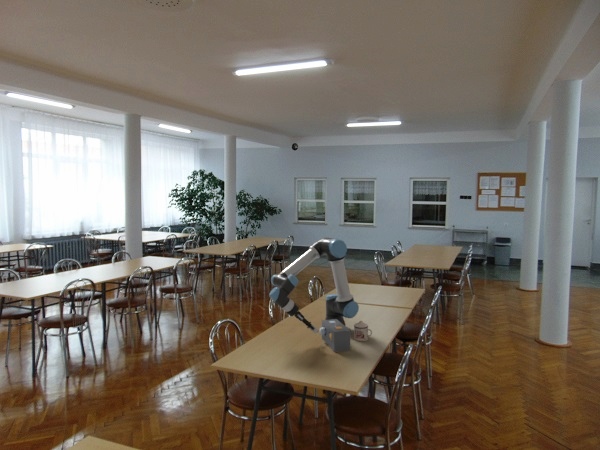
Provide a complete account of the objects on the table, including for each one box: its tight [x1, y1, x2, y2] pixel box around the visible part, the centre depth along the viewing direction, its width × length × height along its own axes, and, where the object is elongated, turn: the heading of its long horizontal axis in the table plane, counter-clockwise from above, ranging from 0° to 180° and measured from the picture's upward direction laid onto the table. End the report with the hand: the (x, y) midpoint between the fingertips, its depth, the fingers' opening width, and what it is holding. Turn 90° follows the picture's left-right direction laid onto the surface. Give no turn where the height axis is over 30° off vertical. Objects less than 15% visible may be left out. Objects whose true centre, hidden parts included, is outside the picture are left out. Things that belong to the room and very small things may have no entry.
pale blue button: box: [319, 326, 326, 336], centre depth 261 cm, size 4×4×4 cm
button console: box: [321, 319, 351, 353], centre depth 257 cm, size 10×24×12 cm, turn 14°
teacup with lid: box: [353, 320, 373, 342], centre depth 265 cm, size 12×9×12 cm
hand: (316, 332), depth 259 cm, fingers closed
